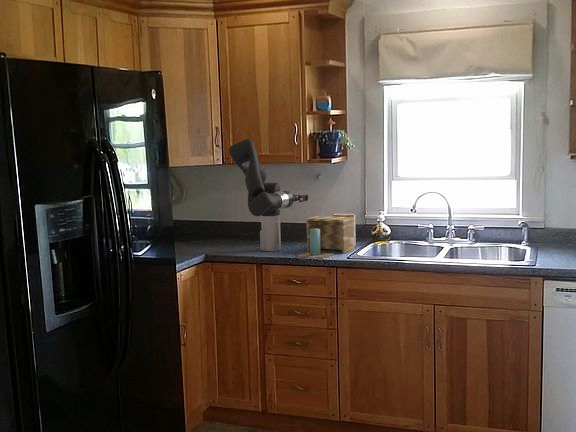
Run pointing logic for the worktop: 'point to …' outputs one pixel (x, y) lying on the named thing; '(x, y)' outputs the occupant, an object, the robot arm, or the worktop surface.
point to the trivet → (321, 256)
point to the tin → (314, 242)
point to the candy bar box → (347, 216)
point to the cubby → (333, 232)
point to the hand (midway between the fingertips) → (298, 196)
